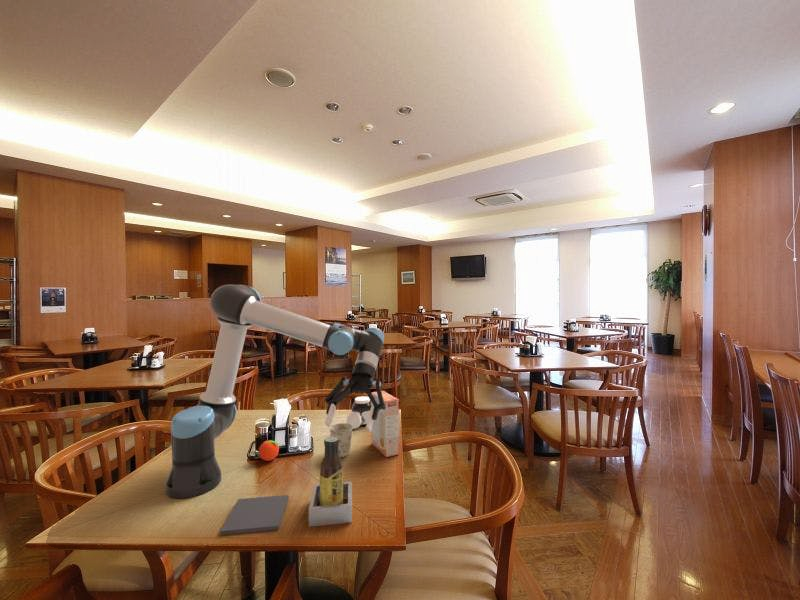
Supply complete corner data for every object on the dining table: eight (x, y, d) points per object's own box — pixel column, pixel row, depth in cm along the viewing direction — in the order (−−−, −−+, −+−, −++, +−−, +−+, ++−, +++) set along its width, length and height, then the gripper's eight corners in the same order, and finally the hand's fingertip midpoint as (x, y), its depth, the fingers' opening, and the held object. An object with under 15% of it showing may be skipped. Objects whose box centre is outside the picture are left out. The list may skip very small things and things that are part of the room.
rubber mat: (220, 535, 89) (220, 531, 89) (238, 502, 103) (238, 499, 103) (278, 529, 91) (278, 525, 90) (288, 498, 104) (288, 494, 104)
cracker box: (400, 454, 131) (399, 398, 131) (385, 458, 129) (384, 401, 128) (384, 441, 144) (384, 389, 144) (371, 444, 141) (370, 391, 141)
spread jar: (373, 420, 168) (373, 395, 168) (373, 429, 156) (373, 403, 156) (348, 421, 167) (347, 396, 167) (346, 430, 156) (345, 404, 156)
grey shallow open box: (308, 526, 91) (308, 509, 91) (314, 499, 103) (313, 484, 103) (351, 522, 93) (351, 505, 93) (352, 496, 105) (351, 481, 105)
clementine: (284, 455, 132) (284, 436, 132) (277, 464, 125) (276, 444, 125) (264, 455, 132) (263, 436, 132) (255, 464, 126) (254, 444, 125)
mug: (355, 449, 137) (354, 423, 137) (346, 464, 124) (346, 436, 124) (333, 448, 138) (333, 422, 137) (323, 464, 125) (323, 435, 125)
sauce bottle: (335, 520, 94) (334, 445, 94) (315, 515, 96) (314, 442, 96) (347, 506, 100) (346, 436, 100) (328, 501, 102) (327, 433, 102)
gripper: (402, 375, 121) (389, 436, 107) (335, 372, 128) (315, 428, 114) (397, 363, 116) (383, 425, 102) (328, 360, 123) (306, 418, 109)
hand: (347, 427), depth 108 cm, fingers open, 13 cm apart
